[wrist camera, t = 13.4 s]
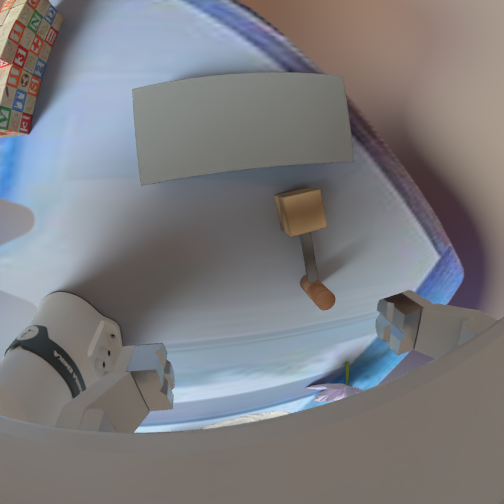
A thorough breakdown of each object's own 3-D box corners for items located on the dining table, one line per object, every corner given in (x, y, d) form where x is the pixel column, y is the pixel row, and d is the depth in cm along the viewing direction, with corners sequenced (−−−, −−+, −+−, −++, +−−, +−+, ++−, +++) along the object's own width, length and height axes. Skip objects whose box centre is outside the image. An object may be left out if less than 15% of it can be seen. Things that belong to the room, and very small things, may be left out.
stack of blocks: (30, 135, 29) (-19, 128, 17) (4, 138, 27) (-44, 134, 16) (65, 17, 23) (35, -15, 12) (37, 25, 22) (5, -2, 10)
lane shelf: (329, 163, 38) (354, 161, 31) (152, 183, 34) (141, 185, 28) (319, 90, 34) (342, 75, 28) (144, 104, 31) (132, 89, 24)
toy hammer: (324, 285, 43) (343, 303, 36) (294, 294, 42) (310, 315, 35) (307, 187, 38) (328, 190, 31) (274, 195, 38) (289, 199, 31)
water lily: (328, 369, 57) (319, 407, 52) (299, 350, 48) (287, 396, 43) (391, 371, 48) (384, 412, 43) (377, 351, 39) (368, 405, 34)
